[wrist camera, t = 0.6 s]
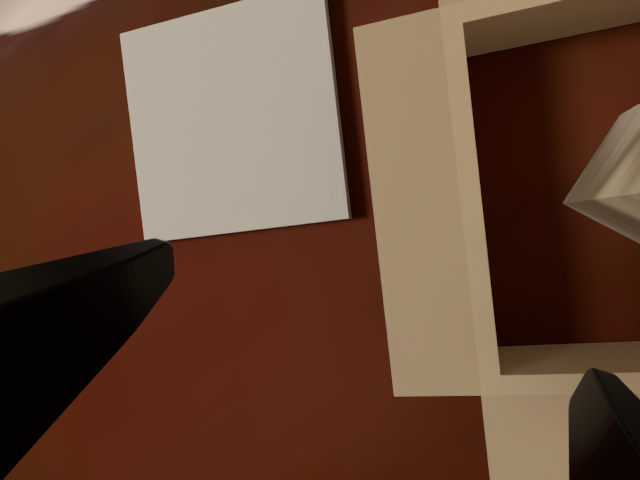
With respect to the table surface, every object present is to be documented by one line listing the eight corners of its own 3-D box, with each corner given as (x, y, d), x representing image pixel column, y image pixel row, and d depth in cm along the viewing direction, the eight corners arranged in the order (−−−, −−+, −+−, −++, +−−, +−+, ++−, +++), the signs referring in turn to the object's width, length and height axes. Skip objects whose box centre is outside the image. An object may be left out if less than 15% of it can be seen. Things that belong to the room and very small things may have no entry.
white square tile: (351, 218, 23) (348, 218, 22) (153, 242, 26) (144, 242, 25) (326, -13, 22) (322, -22, 22) (129, 39, 25) (119, 33, 25)
